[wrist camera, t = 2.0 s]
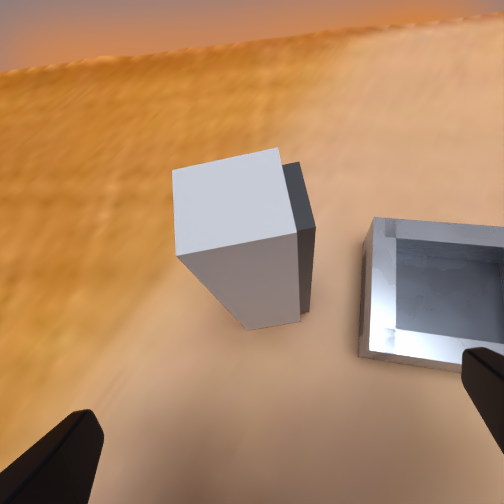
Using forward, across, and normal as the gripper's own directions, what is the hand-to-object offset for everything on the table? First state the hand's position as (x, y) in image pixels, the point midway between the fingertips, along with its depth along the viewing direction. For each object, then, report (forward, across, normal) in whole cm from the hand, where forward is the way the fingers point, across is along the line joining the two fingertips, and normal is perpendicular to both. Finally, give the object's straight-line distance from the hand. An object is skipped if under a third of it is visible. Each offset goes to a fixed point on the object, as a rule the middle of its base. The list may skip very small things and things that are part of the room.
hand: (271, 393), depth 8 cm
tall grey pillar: (+12, 0, +5) cm, 13 cm away
